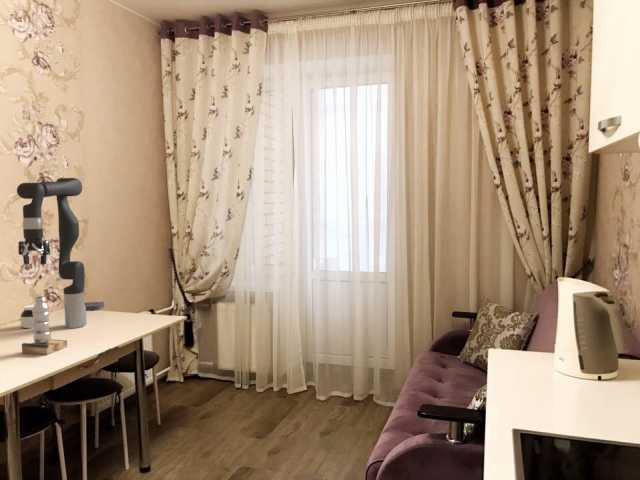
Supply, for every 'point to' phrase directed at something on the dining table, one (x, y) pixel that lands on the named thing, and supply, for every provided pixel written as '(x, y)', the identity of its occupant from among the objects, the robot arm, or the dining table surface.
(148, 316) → the dining table surface
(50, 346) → the dock
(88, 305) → the streaming box
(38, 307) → the plastic bottle
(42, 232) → the robot arm
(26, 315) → the spread jar
